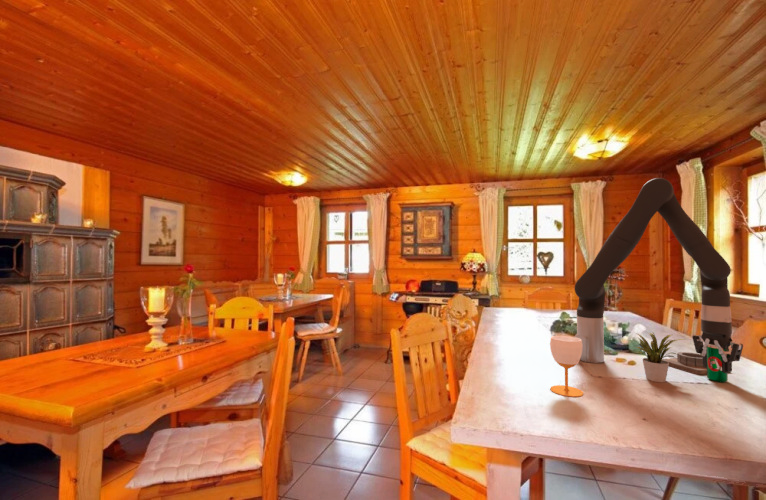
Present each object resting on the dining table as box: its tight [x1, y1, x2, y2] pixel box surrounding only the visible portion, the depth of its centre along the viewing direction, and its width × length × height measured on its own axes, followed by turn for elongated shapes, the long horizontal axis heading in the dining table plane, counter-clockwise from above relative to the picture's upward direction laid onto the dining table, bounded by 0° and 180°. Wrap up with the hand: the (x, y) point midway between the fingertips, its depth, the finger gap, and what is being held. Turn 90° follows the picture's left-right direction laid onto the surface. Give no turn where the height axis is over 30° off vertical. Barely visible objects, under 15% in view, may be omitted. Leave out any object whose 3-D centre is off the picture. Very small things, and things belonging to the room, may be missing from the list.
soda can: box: [706, 344, 729, 384], centre depth 119 cm, size 5×5×12 cm
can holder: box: [662, 351, 707, 376], centre depth 133 cm, size 14×14×4 cm
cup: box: [549, 335, 584, 398], centre depth 109 cm, size 9×9×16 cm
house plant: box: [634, 330, 686, 383], centre depth 119 cm, size 14×14×16 cm
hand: (717, 370), depth 119 cm, fingers closed on soda can, 5 cm apart
